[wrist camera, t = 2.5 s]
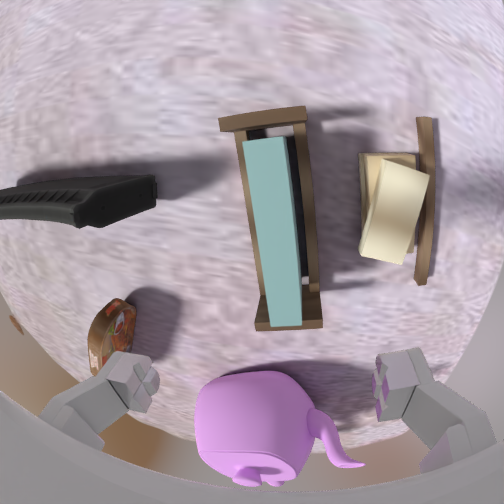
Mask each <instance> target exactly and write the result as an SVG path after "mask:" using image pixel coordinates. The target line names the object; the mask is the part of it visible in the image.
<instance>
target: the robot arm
mask: <svg viewBox="0 0 504 504" xmlns="http://www.w3.org/2000/svg"><path fill="white" fill-rule="evenodd" d="M375 363H376V367H377V368H376V369H375V370H374V371H373V376H372V391H373V396H374V397H375V398H376V399H377V403H376V406H375V407H376V413H377V418H378V422H381V421H388V420H394V419H400V418H402V421H403V422H404V423H405V424H406V425H407V426H408V427H409V428H410V429H411V430H412V431H413V432H414V433H415V434H416V435H417V436H418V437H419V438H420V439H421V440H422V441H423V442H424V443H425V444H426V445H427V446H428V448H429V449H431V451H430V452H429V453H428V454H427V455H426V456H425V458H424V459H423V460H422V461H421V462H420V464H419V465H420V471H421V474H419V475H415V476H412V477H408V478H404V479H400V480H396V481H391V482H386V483H382V484H376V485H371V486H365V487H357V488H350V489H341V490H330V491H314V492H274V491H257V490H246V489H237V488H229V487H222V486H216V485H210V484H205V483H199V482H194V481H190V480H186V479H181V478H177V477H173V476H169V475H166V474H162V473H159V472H155V471H152V470H149V469H146V468H143V467H140V466H137V465H134V464H131V463H129V462H126V461H123V460H121V459H118V458H115V457H113V456H111V455H108V454H106V453H104V452H101V450H102V448H103V446H104V441H103V440H102V439H101V438H100V437H99V436H98V434H99V433H100V432H101V431H103V430H104V429H105V428H107V427H108V426H110V425H111V424H112V423H113V422H115V421H116V420H117V419H119V418H120V417H121V416H123V415H124V414H125V413H126V412H128V411H129V410H133V411H137V412H142V413H146V412H147V410H148V408H149V406H150V404H151V403H152V398H151V396H152V395H154V394H155V393H157V391H158V389H159V385H160V378H159V374H158V372H157V371H156V370H155V369H154V368H153V367H152V361H151V359H150V357H149V356H145V355H139V354H133V353H127V352H120V351H116V352H114V353H113V354H112V355H111V357H110V358H109V359H108V361H107V362H106V363H105V365H104V366H103V367H102V369H101V370H100V371H99V373H98V374H97V375H96V377H95V376H92V377H90V378H88V379H87V380H85V381H83V382H81V383H79V384H77V385H75V386H73V387H72V388H70V389H68V390H66V391H64V392H62V393H60V394H58V395H56V396H54V397H53V398H52V399H51V400H50V401H49V403H48V404H47V405H46V407H45V408H44V410H43V411H42V412H41V414H40V415H39V417H37V416H35V415H33V414H32V413H31V412H29V411H27V410H26V409H25V408H23V407H22V406H21V405H19V404H18V403H16V402H15V401H14V400H12V399H11V398H10V397H8V396H7V395H6V394H5V393H3V392H2V391H1V390H0V504H504V440H502V441H500V442H498V443H497V441H496V438H495V436H494V433H493V430H492V427H491V425H490V422H489V419H488V417H487V414H486V412H484V411H483V410H481V409H480V408H478V407H477V406H475V405H474V404H472V403H471V402H470V401H468V400H467V399H465V398H464V397H462V396H461V395H459V394H458V393H456V392H455V391H453V390H452V389H450V388H449V387H447V386H446V385H444V384H443V383H441V382H440V381H435V380H434V378H433V375H432V373H431V370H430V368H429V366H428V363H427V361H426V359H425V357H424V354H423V352H422V350H421V349H420V348H419V347H417V348H412V349H407V350H401V351H395V352H389V353H383V354H378V355H377V357H376V362H375ZM128 409H129V410H128Z"/></svg>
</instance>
